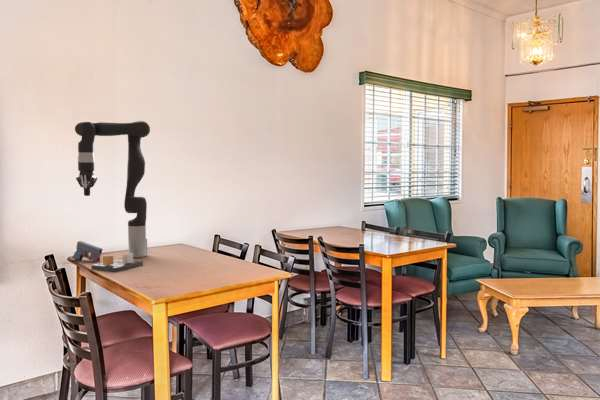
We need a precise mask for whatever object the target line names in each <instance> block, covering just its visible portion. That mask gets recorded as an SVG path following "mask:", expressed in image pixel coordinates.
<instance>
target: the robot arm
mask: <svg viewBox="0 0 600 400" xmlns="http://www.w3.org/2000/svg"><path fill="white" fill-rule="evenodd" d="M74 132H75V133H76V134H77V135H78V136H80V137H81V140H80V141H79V142H78V143H77V152H78V154H77V170H78V171H79V175H78V177H76V178H75V180H76V181H77V184H78V185H79V186H80V188H83V195H84V196H85V197H89V196H91V189H92V188H93V187H94V186H95V184H96V182H97V180H98V178H97V177H96V176H94V175H95V174H94V171H95V155H94V142H95V138H96V137H98V136H99V137H114V136H125V135H126V136H127V142H128V143H127V144H128V145H127V146H128V149H127V169H126V170H127V171H126V172H127V173H126V174H127V175H126V189H125V195H124V202H123V203H124V206H123V207H124V210H125V212H126V213H127V214H136V216H135V218H134V217H133V219H130V220H128V221H127V234H128V235H127V236H128V238H127V239H128V253H133V259H134V258H143V257H146V256H148V238H147V237H146V236H147V234H146V229H147V228H146V223H147V199H146V197H144V196H135V195H136V194H135V192H136V189H137V187H138V185H139V184H140V182H141V180H143V177H144V175H145V170H146V161H145V157H144V154H143V152H142V149H141V139H142V138H145V137H147V136H149V134H150V132H151V127H150V125H149V124H148V122H146V121H144V120H137V121H133V122H132V121H131V122H90V121H82V122H79V123H76V125H75V127H74Z"/></svg>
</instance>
